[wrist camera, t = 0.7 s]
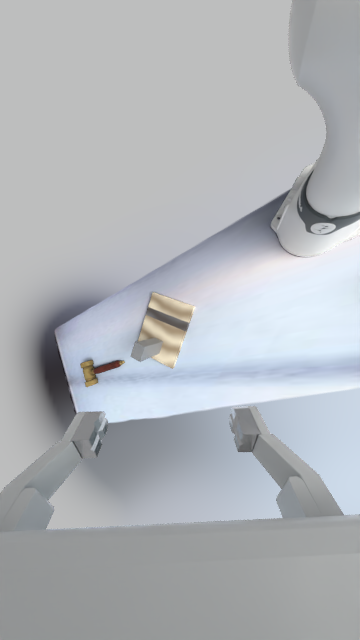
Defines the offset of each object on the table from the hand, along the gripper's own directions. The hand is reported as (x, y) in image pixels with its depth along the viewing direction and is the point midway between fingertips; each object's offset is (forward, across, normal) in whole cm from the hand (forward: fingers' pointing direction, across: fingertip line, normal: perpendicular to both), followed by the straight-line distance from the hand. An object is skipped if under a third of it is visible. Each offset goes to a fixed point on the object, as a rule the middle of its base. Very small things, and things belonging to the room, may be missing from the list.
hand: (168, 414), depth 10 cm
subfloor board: (+42, +4, +17) cm, 45 cm away
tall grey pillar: (+39, +6, +22) cm, 45 cm away
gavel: (+45, +29, +36) cm, 64 cm away
